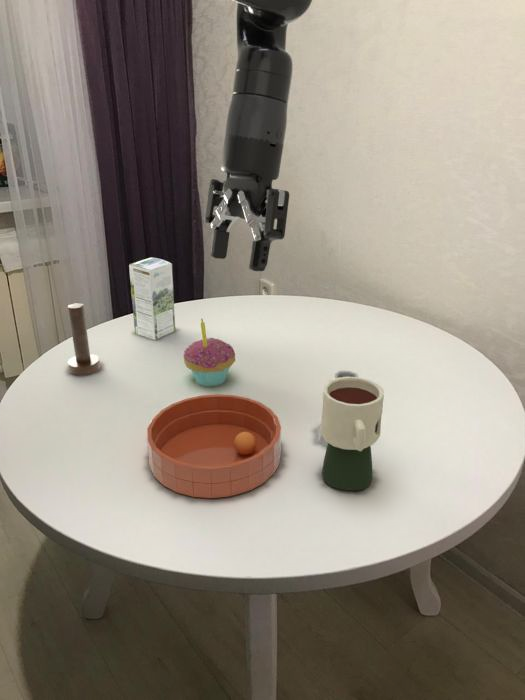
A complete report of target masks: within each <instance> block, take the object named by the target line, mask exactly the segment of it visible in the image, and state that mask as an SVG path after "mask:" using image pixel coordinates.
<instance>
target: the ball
mask: <svg viewBox="0 0 525 700" xmlns="http://www.w3.org/2000/svg"><path fill="white" fill-rule="evenodd" d="M234 447H235V449H236V451H237V452H238V453H240V454H243V455H247V454H250V453H252V452H253V451H254V450H255V448H256V439H255V437H254V436H253V435H252V434H251V433H249V432H241V433H239V434H238V435H237V436H236V437H235V440H234Z"/></svg>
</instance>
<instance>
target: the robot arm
mask: <svg viewBox="0 0 525 700" xmlns="http://www.w3.org/2000/svg"><path fill="white" fill-rule="evenodd" d="M231 1H232V2H236V3H237V4H236V46H237V60H236V64H235V65H236V66H235V73H234V80H233V89H232V96H231V101H230V105H229V108H228V112H227V117H226V126H225V133H224V139H223V148H222V156H221V164H220V169H221V171H223V172H224V173H226V178H225V180H223V179H222V180H221V179H216V178H211V180H210V181H209V185H208V186H209V187H208V191H207V197H206V198H207V199H206V205H205V211H204V217H203V220H204V223H206V224H209V226H210V228H211V230H212V236H211V245H210V251H211V252H210V257H211V258H214V259H221V260H224V259H226V258H227V256H228V255H227V254H228V246H229V241H230V232H229V231H230V229H231V228H232V226H233V225H234V224H235V222H236V221H240V219H243V220H245V222H246V224H247V225H248V226H249V227H250V230H251V232H252V235H253V236H252V237H253V239H254V240H252V243H251V250H250V256H249V264H248V268H249V270H250V271H254V272H264V271H265V270H266V267H267V265H268V262H269V260H268V259H269V255H270V248H271V244H272V243H273V242H274V241H278V240H283V239H284V238H285V235H286V226H287V220H288V219H287V218H288V210H289V203H290V192H289V191H288V190H284V189H279V188H273V181H276V180H277V179H278V178H279V177H280V171H281V163H282V157H283V151H284V145H285V138H286V131H287V124H288V105H289V98H290V93H291V92H290V91H291V86H292V79H293V71H294V70H293V69H294V67H293V66H294V64H293V59H292V57H291V54H290V53H288V52H287V51H286V50H287V49H286V47H287V31H288V25H289V24H290V23H293V22H294V21H297V20H299V19H301V17H302V16H304V15H305V14H306V13H307V11H308V10H309V8H310V7H311V4H312V2H313V0H231ZM215 207H217V208H216V210H214V209H215ZM214 211H215V212H216V214H214ZM275 221H276V227H275Z"/></svg>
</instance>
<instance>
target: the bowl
mask: <svg viewBox="0 0 525 700" xmlns="http://www.w3.org/2000/svg"><path fill="white" fill-rule="evenodd" d="M241 432H249V433H251V434H252V435H253V436H254V437H255V439H256V448H255V450H254V451H253V452H252V453H250V454H247V455H243V454H240V453H238V452H237V451H236V449H235V447H234V440H235V437H236V436H237V435H238V434H239V433H241ZM281 442H282V425H281V422H280V419H279V417H278V416H277V414H276V413H275V412H274V411H273V409H271V408H270V407H268V406H267V405H265V404H264V403H262V402H260V401H258V400H254V399H252V398H249V397H245V396H240V395H234V394H222V393H221V394H220V393H218V394H217V393H216V394H203V395H202V394H201V395H197V396H193V397H187V398H184V399H182V400H179V401H176V402H173V403H171V404H169V405H168V406H166V407H164V408H163V409H161V410H160V411H158V413H157V414H156V415H154V417H153V418H152V419H151V421H150V423H149V424H148V426H147V428H146V443H147V444H146V445H147V453H148V464H149V468H150V470H151V472H152V474H153V477H154V478H155V479H156V480H157V481H158V482H159V483H160V484H161V485H162V486H164V487H165V488H167V489H170V490H171V491H173V492H175V493H177V494H181V495H185V496H189V497H193V498H207V499H216V498H217V499H218V498H225V497H227V498H228V497H232V496H237V495H239V494H243V493H248V492H250V491H252V490H254V489H255V488H258V487H259V486H261V485H263V484H264V483H265V482H267V481H268V480H269V479H270V478H271V477H272V476H273V475H274V474H275V472H276V471H277V469H278V468H279V466H280V463H281V462H280V461H281V453H282V443H281Z"/></svg>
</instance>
